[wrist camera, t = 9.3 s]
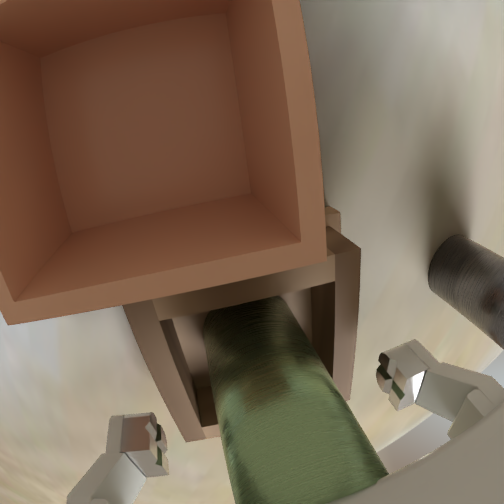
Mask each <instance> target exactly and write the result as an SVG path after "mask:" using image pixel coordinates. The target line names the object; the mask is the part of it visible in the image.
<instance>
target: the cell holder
mask: <svg viewBox="0 0 504 504" xmlns="http://www.w3.org/2000/svg"><path fill="white" fill-rule="evenodd" d="M325 224H326V247H327V261H325V262H321V263H317V264H312V265H308V266H304V267H299V268H295V269H291V270H286V271H282V272H277V273H273V274H269V275H264V276H260V277H255V278H250V279H246V280H241V281H237V282H232V283H228V284H223V285H218V286H214V287H209V288H204V289H199V290H195V291H190V292H185V293H180V294H175V295H170V296H165V297H160V298H155V299H150V300H145V301H140V302H135V303H130V304H125V305H122V306H123V308H124V311H125V314H126V316H127V319H128V321H129V324H130V326H131V329H132V331H133V334H134V336H135V339H136V341H137V343H138V346H139V348H140V350H141V353H142V355H143V357H144V360H145V362H146V364H147V366H148V368H149V371H150V373H151V375H152V377H153V379H154V381H155V384H156V386H157V388H158V390H159V392H160V394H161V396H162V398H163V400H164V402H165V404H166V406H167V408H168V410H169V412H170V414H171V416H172V418H173V419H174V421H175V423H176V425H177V427H178V429H179V431H180V432H181V434H182V436H183V438H184V440H185V441H186V442H191V441H197V440H203V439H208V438H214V437H219V436H221V435H220V430H219V425H218V420H217V415H216V409H215V404H214V398H213V393H212V387H211V381H210V375H209V369H208V363H207V357H206V350H205V344H204V337H203V325H204V321H205V318H206V316H207V314H208V313H209V311H210V310H215V309H220V308H224V307H229V306H233V305H238V304H242V303H247V302H251V301H256V300H260V299H264V298H269V297H273V296H277V295H278V296H280V297H281V298H282V299H283V300H284V301H285V302H286V303H287V304H288V306H289V308H290V309H291V311H292V313H293V314H294V316H295V318H296V319H297V321H298V323H299V324H300V326H301V328H302V329H303V331H304V333H305V334H306V336H307V338H308V339H309V341H310V343H311V344H312V346H313V348H314V349H315V351H316V353H317V354H318V356H319V358H320V359H321V361H322V363H323V364H324V366H325V368H326V369H327V371H328V373H329V374H330V376H331V378H332V379H333V381H334V383H335V384H336V386H337V388H338V389H339V391H340V393H341V394H342V396H343V398H344V399H345V401H348V400H350V394H351V386H352V378H353V369H354V359H355V349H356V338H357V325H358V310H359V292H360V263H361V248H359V247H358V246H357V245H355V244H354V243H353V242H351V241H350V240H349V239H347V238H346V237H344V236H343V235H342V234H341V220H340V212H339V211H337V210H335V209H334V208H332V207H330V206H328V207H325Z"/></svg>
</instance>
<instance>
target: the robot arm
mask: <svg viewBox="0 0 504 504" xmlns="http://www.w3.org/2000/svg"><path fill="white" fill-rule="evenodd" d="M378 361H379V362H380V363H381V365H380V366H379V367H378V369H377V373H376V378H377V382H378V385H379V387H380V388H381V390H382V391H383V392H385V393H388V394H389V401H390V402H391V404H392V405H393V406H394V408H395V409H396V410H397V411H399V410H401V409H403V408H405V407H408V406H410V405H412V404H414V403H416V404H417V405H419V406H421V407H423V408H425V409H427V410H429V411H431V412H433V413H435V414H437V415H439V416H441V417H444V418H446V419H448V420H450V421H452V422H453V423H452V425H451V427H450V429H449V430H448V436H449V437H450V439H451V440H450V441H448V442H447V443H445V444H444V445H442V446H440V447H439V448H437V449H435V450H434V451H432V452H430V453H429V454H427V455H425V456H423V457H422V458H420V459H418V460H416V461H414V462H413V463H411V464H409V465H407V466H405V467H403V468H401V469H399V470H397V471H395V472H393V473H391V474H389V475H387V476H385V477H383V478H381V479H379V480H378V481H377V483H376V484H374V485H372V486H369V487H367V488H365V489H362V490H360V491H358V492H355V493H353V494H350V495H348V496H345V497H342V498H340V499H337V500H334V501H332V502H329V503H326V504H504V388H503V387H502V386H501V385H500V384H499V383H498V382H497V381H496V380H495V379H494V378H493V377H491V376H487V375H484V374H481V373H478V372H474V371H471V370H467V369H464V368H461V367H457V366H454V365H451V364H447V363H444V362H442V363H439V362H438V361H437V360H436V359H435V358H434V357H433V356H432V355H431V354H430V353H429V352H428V351H427V350H426V349H425V348H424V347H423V346H422V345H421V344H420V343H419V342H418V341H417V340H415V339H414V340H411V341H409V342H407V343H404V344H401V345H399V346H397V347H394V348H392V349H390V350H387V351H385V352H382V353H381V354H380V356H379V360H378ZM166 451H167V441H166V436H165V433H164V431H163V428H162V427H161V425H159V424H157V419H156V417H155V415H154V413H152V412H151V413H140V414H129V415H117V416H111V418H110V420H109V427H108V436H107V445H106V453H104V454H101V455H100V457H99V458H98V459H97V460H96V462H95V463H94V464H93V465H92V466H91V468H90V469H89V470H88V471H87V473H86V474H85V475H84V476H83V477H82V479H81V480H80V481H79V482H78V483H77V485H76V486H75V487H74V488H73V489H72V491H71V492H70V493H69V494H68V496H67V504H133V502H134V501H135V499H136V497H137V495H138V494H139V492H140V490H141V488H142V486H143V485H144V483H145V481H146V479H147V478H146V477H156V476H165V475H169V467H168V459H167V457H166V456H165V455H164V453H165V452H166Z"/></svg>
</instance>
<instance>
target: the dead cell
mask: <svg viewBox="0 0 504 504" xmlns="http://www.w3.org/2000/svg"><path fill="white" fill-rule="evenodd" d="M428 282H429V286H430V288H431V290H432V291H433V292H434V293H435V294H437V295H438V296H439V297H440V298H442V299H443V300H444V301H446V302H447V303H448V304H449V305H451V306H452V307H453V308H454V309H456V310H457V311H458V312H459V313H461V314H462V315H463V316H464V317H466V318H467V319H468V320H469V321H471V322H472V323H473V324H474V325H475V326H477V327H478V328H479V329H480V330H481V331H483V332H484V333H485V334H486V335H487V336H489V337H490V338H491V339H492V340H493V341H494V342H496V343H497V344H498V345H499V346H500V347H501V348H503V349H504V258H503V257H501V256H500V255H498V254H496V253H494V252H493V251H491V250H489V249H487V248H485V247H483V246H481V245H480V244H478V243H476V242H474V241H472V240H470V239H468V238H466V237H464V236H462V235H454V236H452V237H450V238H448V239H447V240H446V241H445V242H444V243H443V244H442V245H441V246H440V247H439V249H438V250H437V252H436V253H435V255H434V257H433V260H432V262H431V265H430V269H429V275H428Z"/></svg>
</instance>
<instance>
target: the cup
mask: <svg viewBox="0 0 504 504" xmlns="http://www.w3.org/2000/svg"><path fill="white" fill-rule="evenodd" d="M325 261H327V247H326V224H325V206H324V190H323V176H322V164H321V152H320V141H319V131H318V122H317V113H316V104H315V96H314V88H313V81H312V73H311V66H310V59H309V53H308V46H307V40H306V34H305V28H304V22H303V17H302V11H301V6H300V1H299V0H0V311H1V313H2V315H3V317H4V319H5V321H6V323H7V325H14V324H20V323H26V322H32V321H38V320H44V319H49V318H55V317H61V316H66V315H72V314H77V313H83V312H88V311H93V310H99V309H104V308H109V307H115V306H120V305H125V304H130V303H135V302H140V301H145V300H150V299H155V298H160V297H165V296H170V295H175V294H180V293H185V292H190V291H195V290H199V289H204V288H209V287H214V286H218V285H223V284H228V283H232V282H237V281H241V280H246V279H250V278H255V277H260V276H264V275H269V274H273V273H277V272H282V271H286V270H291V269H295V268H299V267H304V266H308V265H312V264H317V263H321V262H325Z"/></svg>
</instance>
